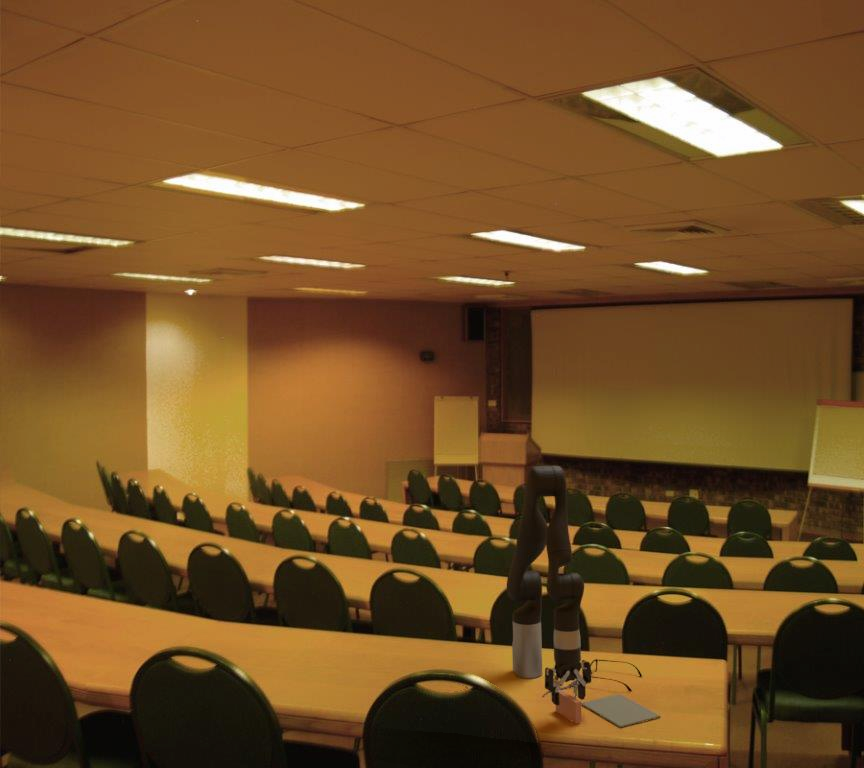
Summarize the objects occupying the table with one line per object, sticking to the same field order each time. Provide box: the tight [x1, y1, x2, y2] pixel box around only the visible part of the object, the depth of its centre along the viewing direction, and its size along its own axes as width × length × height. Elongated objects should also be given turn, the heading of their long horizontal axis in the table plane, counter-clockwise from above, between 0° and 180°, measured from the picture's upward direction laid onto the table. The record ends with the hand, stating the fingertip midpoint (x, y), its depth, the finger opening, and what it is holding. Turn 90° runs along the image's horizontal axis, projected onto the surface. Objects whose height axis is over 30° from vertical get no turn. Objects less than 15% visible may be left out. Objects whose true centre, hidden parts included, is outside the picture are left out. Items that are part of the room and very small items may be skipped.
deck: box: [555, 690, 583, 724], centre depth 229 cm, size 10×2×6 cm, turn 25°
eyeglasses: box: [590, 658, 643, 692], centre depth 255 cm, size 16×16×4 cm
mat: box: [581, 693, 661, 729], centre depth 232 cm, size 18×14×1 cm
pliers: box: [541, 680, 579, 699], centre depth 249 cm, size 10×1×20 cm
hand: (568, 701), depth 229 cm, fingers open, 8 cm apart
